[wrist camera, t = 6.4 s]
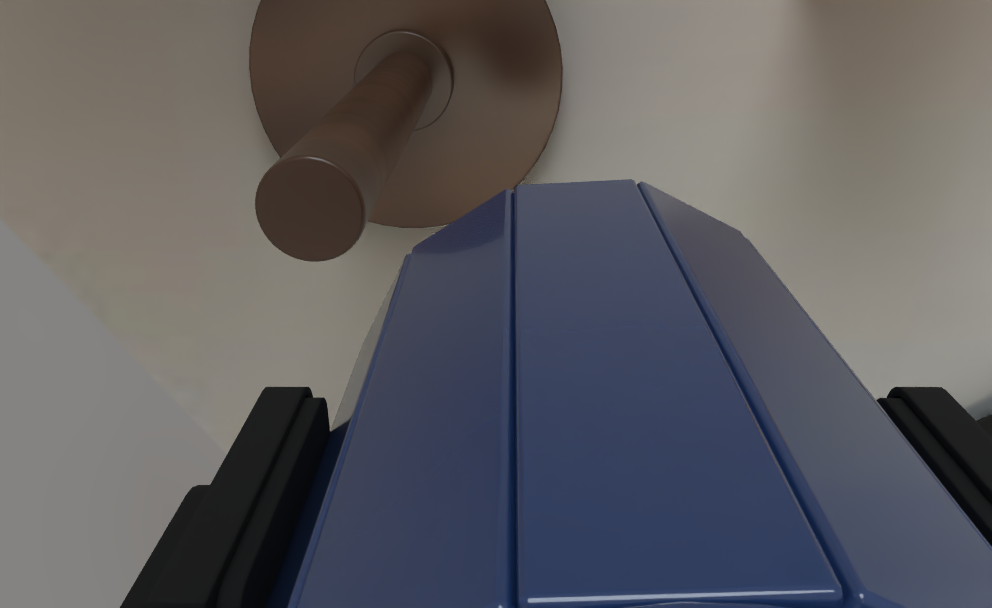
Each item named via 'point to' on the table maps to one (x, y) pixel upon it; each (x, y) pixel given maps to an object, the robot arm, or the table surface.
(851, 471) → the cup
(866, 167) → the table surface
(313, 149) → the holder
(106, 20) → the table surface
